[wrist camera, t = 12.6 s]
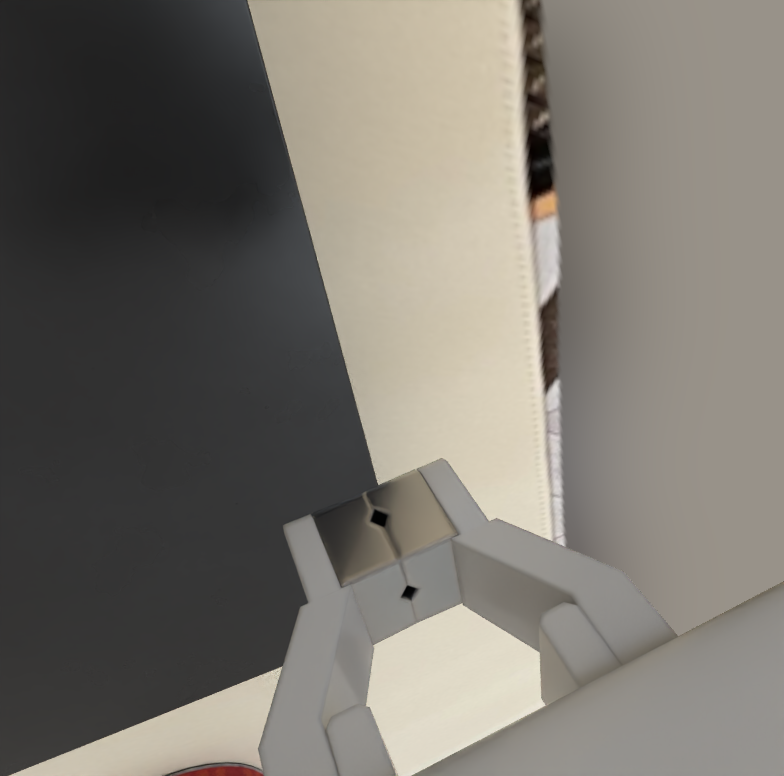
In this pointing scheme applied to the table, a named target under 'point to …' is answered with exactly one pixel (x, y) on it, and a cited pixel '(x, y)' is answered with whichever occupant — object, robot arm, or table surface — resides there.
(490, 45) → the table surface
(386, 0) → the table surface
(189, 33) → the laptop screen
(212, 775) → the canned food
